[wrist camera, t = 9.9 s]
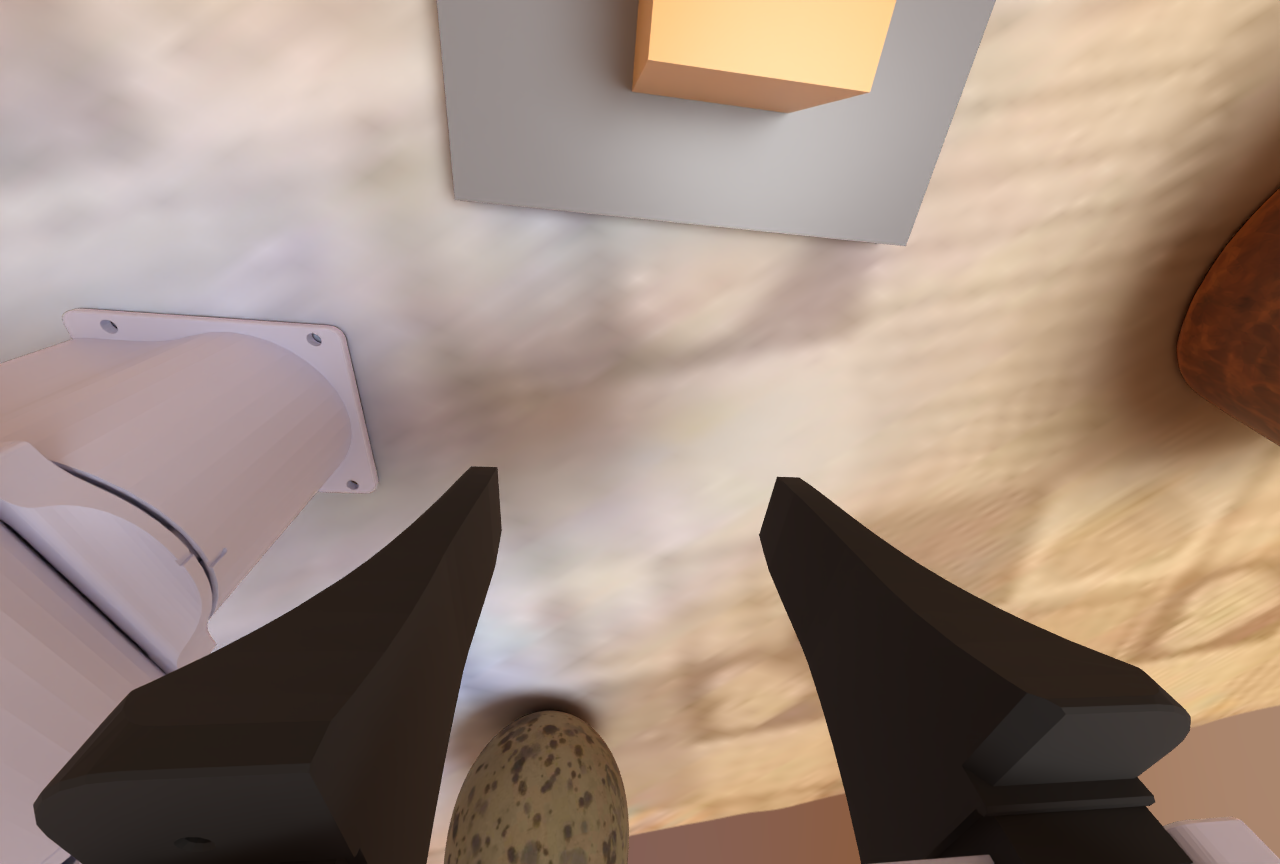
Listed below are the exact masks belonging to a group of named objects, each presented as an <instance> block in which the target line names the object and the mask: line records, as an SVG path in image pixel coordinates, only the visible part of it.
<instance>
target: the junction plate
mask: <svg viewBox="0 0 1280 864" xmlns="http://www.w3.org/2000/svg"><path fill="white" fill-rule="evenodd" d="M995 1H996V0H896V3H895V7H894V10H893V14H892V17H891V21H890V24H889V28H888V31H887V35H886V38H885V42H884V45H883V49H882V52H881V56H880V59H879V63H878V66H877V70H876V73H875V77H874V80H873V84H872V87H871V91H870V92H869V93H866V94H862V95H858V96H854V97H850V98H846V99H842V100H838V101H834V102H830V103H827V104H823V105H819V106H815V107H811V108H807V109H803V110H799V111H795V112H792V113H783V112H776V111H769V110H761V109H754V108H747V107H740V106H732V105H725V104H718V103H710V102H703V101H696V100H689V99H681V98H674V97H667V96H659V95H652V94H645V93H638V92H632V83H633V70H634V56H635V43H636V29H637V16H638V3H639V0H437V9H438V20H439V31H440V42H441V53H442V64H443V75H444V86H445V97H446V108H447V119H448V130H449V141H450V152H451V163H452V174H453V185H454V196H455V200H462V201H472V202H482V203H491V204H501V205H511V206H520V207H530V208H540V209H550V210H559V211H569V212H579V213H589V214H598V215H608V216H618V217H627V218H637V219H647V220H657V221H666V222H676V223H686V224H696V225H705V226H715V227H725V228H734V229H744V230H754V231H764V232H773V233H783V234H793V235H803V236H812V237H822V238H832V239H841V240H851V241H861V242H871V243H880V244H890V245H900V246H906V244H907V241H908V239H909V236H910V233H911V230H912V228H913V225H914V222H915V219H916V217H917V214H918V211H919V209H920V206H921V203H922V200H923V198H924V195H925V192H926V189H927V187H928V184H929V181H930V179H931V176H932V173H933V170H934V168H935V165H936V162H937V159H938V157H939V154H940V151H941V149H942V146H943V143H944V140H945V138H946V135H947V132H948V129H949V127H950V124H951V121H952V119H953V116H954V113H955V110H956V108H957V105H958V102H959V99H960V97H961V94H962V91H963V89H964V86H965V83H966V80H967V78H968V75H969V72H970V69H971V67H972V64H973V61H974V59H975V56H976V53H977V50H978V48H979V45H980V42H981V39H982V37H983V34H984V31H985V29H986V26H987V23H988V20H989V18H990V15H991V12H992V9H993V7H994V4H995Z"/></svg>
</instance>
